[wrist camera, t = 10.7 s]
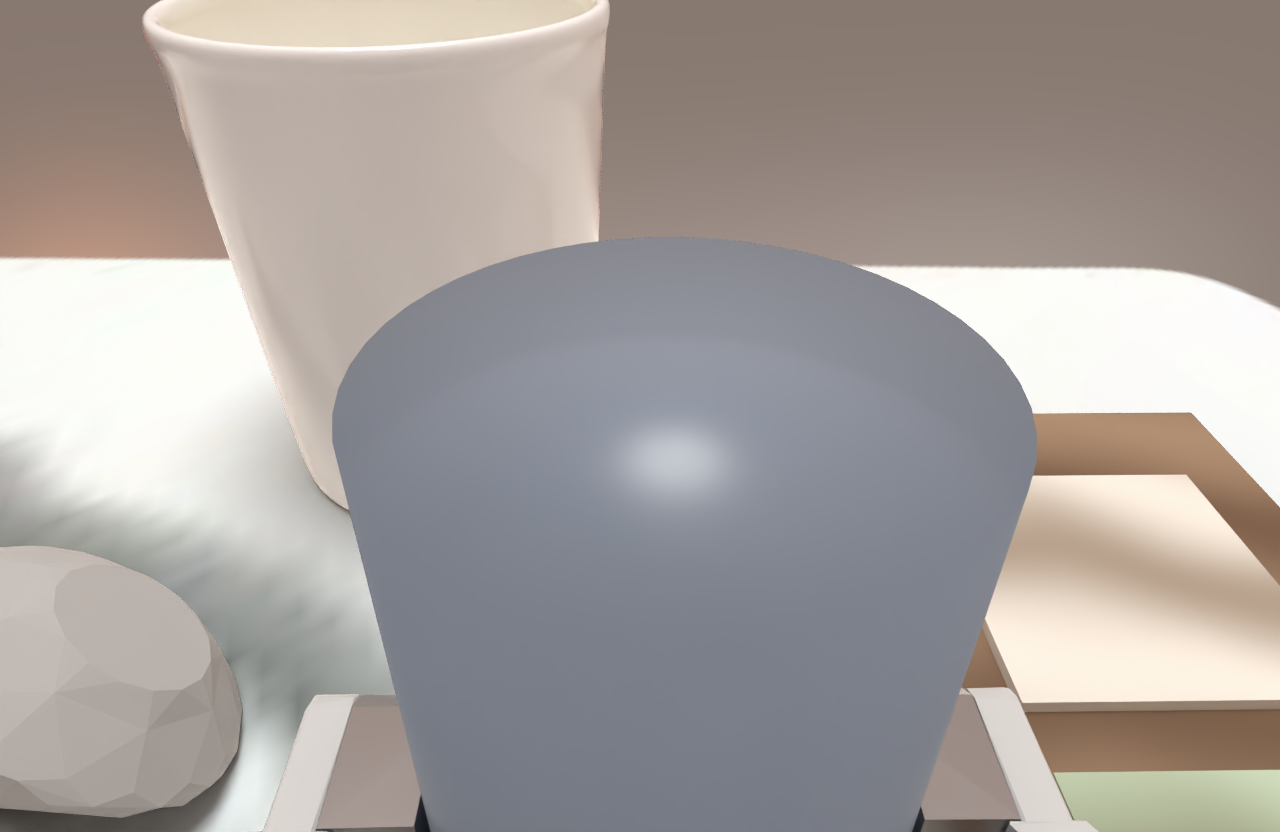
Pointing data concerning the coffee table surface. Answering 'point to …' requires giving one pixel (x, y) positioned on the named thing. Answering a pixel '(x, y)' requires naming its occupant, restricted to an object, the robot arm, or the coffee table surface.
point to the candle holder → (380, 159)
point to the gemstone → (106, 689)
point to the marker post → (679, 535)
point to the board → (1144, 625)
